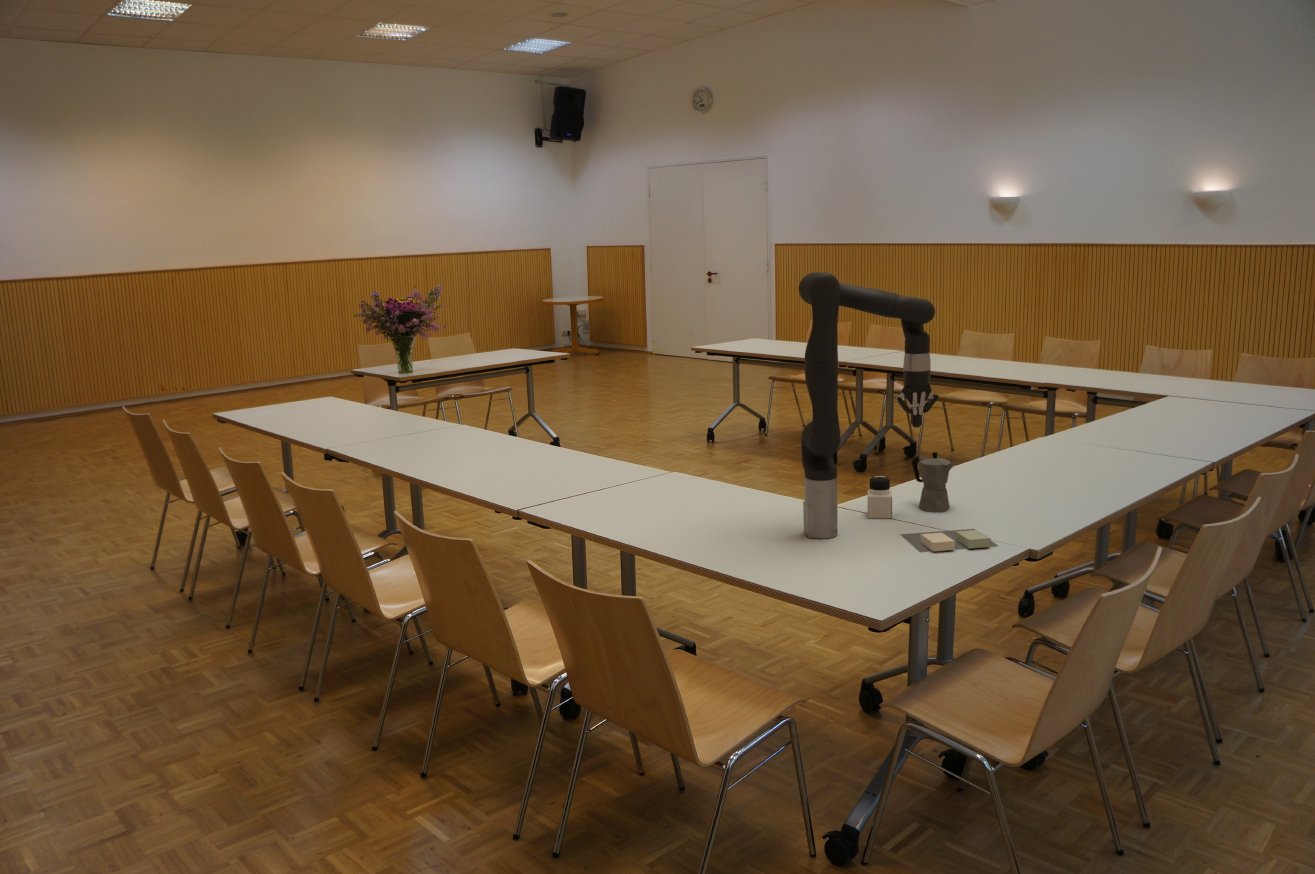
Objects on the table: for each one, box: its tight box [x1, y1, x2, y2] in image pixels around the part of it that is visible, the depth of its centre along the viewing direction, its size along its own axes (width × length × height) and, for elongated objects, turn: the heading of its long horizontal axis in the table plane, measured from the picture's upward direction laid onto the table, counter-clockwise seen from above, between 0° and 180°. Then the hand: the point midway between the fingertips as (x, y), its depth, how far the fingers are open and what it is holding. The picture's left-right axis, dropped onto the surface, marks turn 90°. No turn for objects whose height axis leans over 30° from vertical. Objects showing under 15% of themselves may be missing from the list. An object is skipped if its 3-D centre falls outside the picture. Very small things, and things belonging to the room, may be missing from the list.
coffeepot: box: [911, 451, 954, 513], centre depth 295 cm, size 15×9×18 cm, turn 35°
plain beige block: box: [921, 533, 956, 552], centre depth 258 cm, size 6×3×9 cm
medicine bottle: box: [867, 475, 893, 519], centre depth 290 cm, size 7×7×12 cm
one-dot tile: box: [956, 529, 992, 549], centre depth 259 cm, size 6×3×9 cm
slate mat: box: [899, 528, 999, 553], centre depth 264 cm, size 22×16×1 cm
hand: (916, 426), depth 277 cm, fingers closed
